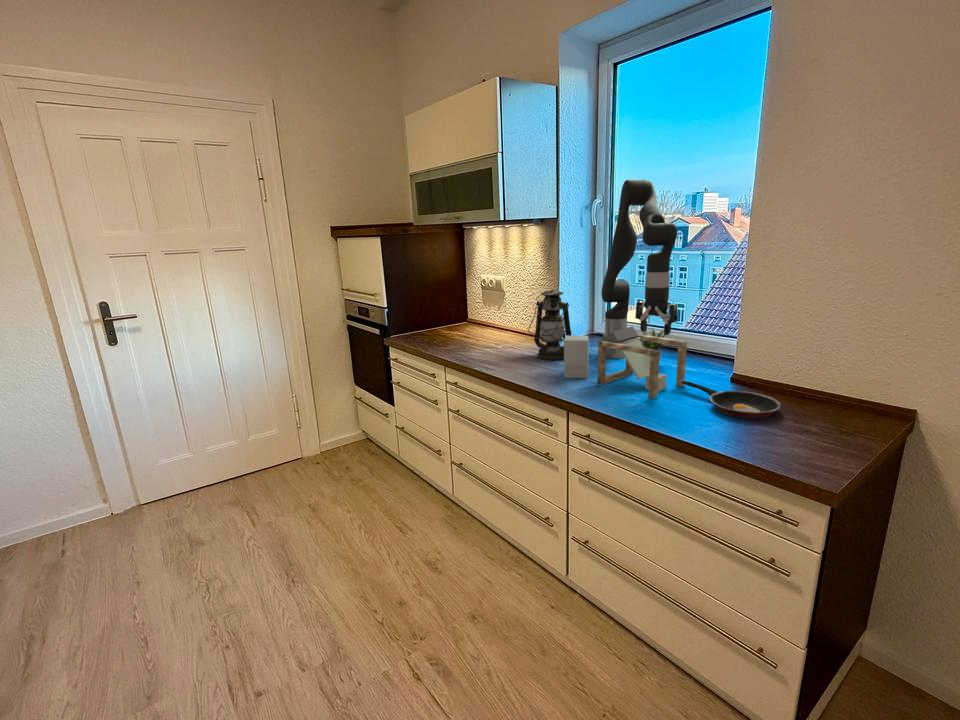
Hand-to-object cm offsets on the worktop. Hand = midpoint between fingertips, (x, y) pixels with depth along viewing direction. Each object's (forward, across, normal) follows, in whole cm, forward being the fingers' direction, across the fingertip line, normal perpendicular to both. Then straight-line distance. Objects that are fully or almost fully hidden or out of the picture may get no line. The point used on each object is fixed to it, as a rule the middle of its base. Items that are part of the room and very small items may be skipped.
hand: (655, 333), depth 163 cm
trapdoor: (+11, +11, 0) cm, 15 cm away
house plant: (+20, +14, -24) cm, 34 cm away
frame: (+20, +5, 0) cm, 20 cm away
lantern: (+20, +54, -6) cm, 58 cm away
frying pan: (+20, -24, -1) cm, 31 cm away
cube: (+17, +1, 0) cm, 17 cm away
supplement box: (+20, +30, +6) cm, 36 cm away
